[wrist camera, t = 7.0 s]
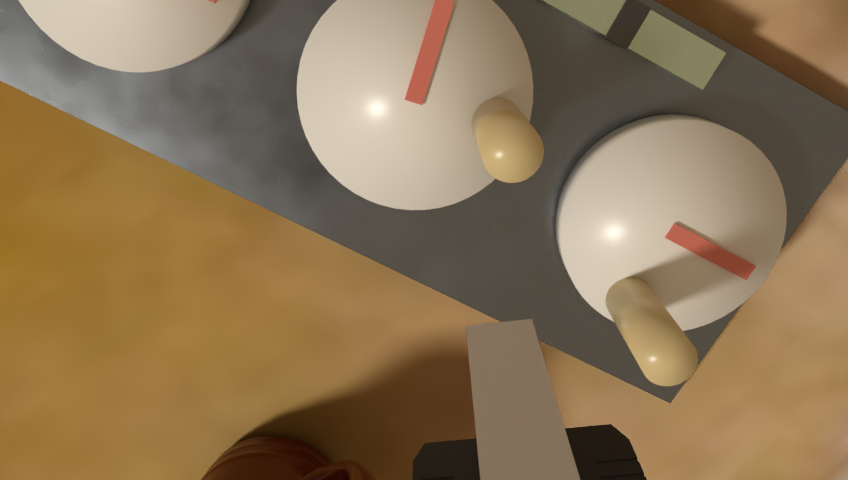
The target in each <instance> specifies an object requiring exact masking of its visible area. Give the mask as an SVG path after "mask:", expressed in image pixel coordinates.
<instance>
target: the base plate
mask: <svg viewBox="0 0 848 480" xmlns="http://www.w3.org/2000/svg"><path fill="white" fill-rule="evenodd" d="M336 1H337V0H250V3H249V5H248V7H247V9H246V11H245V13H244V15H243V17H242V19H241V20H240V22H239V23H238V25H237V26H236V28H235V29H234V30H233V32H232V33H231V34H230V35H229V36H228V37H227V38H226V39H225V40H224V41H223V42H222V43H221V44H220V45H218V46H217V47H216V48H215V49H213V50H212V51H210V52H209V53H207V54H205V55H204V56H202V57H200V58H198V59H196V60H193V61H191V62H188V63H186V64H182V65H179V66H175V67H172V68H168V69H164V70H160V71H153V72H144V73H143V72H124V71H117V70H112V69H108V68H105V67H101V66H98V65H95V64H93V63H90V62H88V61H86V60H83V59H81V58H79V57H78V56H76V55H74V54H72V53H71V52H69V51H67V50H66V49H64V48H63V47H62V46H60V45H59V44H57V43H56V42H55V41H53V40H52V39H51V38H50V37H49V36H48V35H47V34H46V33H45V32H44V31H42V30H41V29H40V28H39V26H38V25H37V24H36V23H35V22H34V21H33V20H32V18H31V17H30V16H29V15H28V13H27V12H26V11H25V9H24V8H23V6H22V5H21V3H20V2H19V0H0V81H2V82H5V83H7V84H9V85H11V86H13V87H15V88H17V89H19V90H21V91H23V92H25V93H27V94H29V95H32V96H34V97H36V98H38V99H40V100H42V101H44V102H46V103H48V104H50V105H52V106H54V107H56V108H59V109H61V110H63V111H65V112H67V113H69V114H71V115H73V116H75V117H77V118H79V119H81V120H83V121H85V122H88V123H90V124H92V125H94V126H96V127H98V128H100V129H102V130H104V131H106V132H108V133H110V134H112V135H115V136H117V137H119V138H121V139H123V140H125V141H127V142H129V143H131V144H133V145H135V146H137V147H139V148H142V149H144V150H146V151H148V152H150V153H152V154H154V155H156V156H158V157H160V158H162V159H164V160H166V161H169V162H171V163H173V164H175V165H177V166H179V167H181V168H183V169H185V170H187V171H189V172H191V173H193V174H195V175H198V176H200V177H202V178H204V179H206V180H208V181H210V182H212V183H214V184H216V185H218V186H220V187H222V188H225V189H227V190H229V191H231V192H233V193H235V194H237V195H239V196H241V197H243V198H245V199H247V200H249V201H252V202H254V203H256V204H258V205H260V206H262V207H264V208H266V209H268V210H270V211H272V212H274V213H276V214H279V215H281V216H283V217H285V218H287V219H289V220H291V221H293V222H295V223H297V224H299V225H301V226H303V227H306V228H308V229H310V230H312V231H314V232H316V233H318V234H320V235H322V236H324V237H326V238H328V239H330V240H332V241H335V242H337V243H339V244H341V245H343V246H345V247H347V248H349V249H351V250H353V251H355V252H357V253H359V254H362V255H364V256H366V257H368V258H370V259H372V260H374V261H376V262H378V263H380V264H382V265H384V266H386V267H389V268H391V269H393V270H395V271H397V272H399V273H401V274H403V275H405V276H407V277H409V278H411V279H413V280H416V281H418V282H420V283H422V284H424V285H426V286H428V287H430V288H432V289H434V290H436V291H438V292H440V293H442V294H445V295H447V296H449V297H451V298H453V299H455V300H457V301H459V302H461V303H463V304H465V305H467V306H469V307H472V308H474V309H476V310H478V311H480V312H482V313H484V314H486V315H488V316H490V317H492V318H494V319H496V320H499V321H501V322H507V321H517V320H527V319H532V321H533V325H534V328H535V331H536V335H537V338H538V340H540V341H542V342H544V343H546V344H548V345H550V346H553V347H555V348H557V349H559V350H561V351H563V352H565V353H567V354H569V355H571V356H573V357H575V358H577V359H579V360H582V361H584V362H586V363H588V364H590V365H592V366H594V367H596V368H598V369H600V370H602V371H604V372H606V373H609V374H611V375H613V376H615V377H617V378H619V379H621V380H623V381H625V382H627V383H629V384H631V385H633V386H636V387H638V388H640V389H642V390H644V391H646V392H648V393H650V394H652V395H654V396H656V397H658V398H660V399H663V400H665V401H667V402H669V403H671V401H672V400H673V399H674V397H675V396H676V394H677V393H678V392H679V390H680V389H681V388H682V386H683V385H684V383H685V382H686V381H687V380H686V381H684V382H682V383H680V384H677V385H674V386H660V385H656V384H654V383H652V382H651V381H649V380H648V379H647V378H646V377H645V375H644V373H643V372H642V370H641V368H640V366H639V365H638V363H637V361H636V359H635V357H634V356H633V354H632V352H631V350H630V349H629V347H628V345H627V343H626V342H625V340H624V338H623V336H622V334H621V333H620V331H619V329H618V327H617V326H616V324H615V322H613V321H611V320H610V319H608V318H606V317H604V316H603V315H601V314H600V313H599V312H598V311H596V310H595V309H594V308H592V307H591V306H590V305H589V303H588V302H587V301H586V300H585V299H584V298H583V297H582V296H581V294H580V293H579V292H578V290H577V289H576V287H575V285H574V283H573V282H572V280H571V278H570V276H569V274H568V272H567V270H566V268H565V266H564V264H563V261H562V259H561V256H560V253H559V250H558V245H557V240H556V226H555V224H556V212H557V207H558V203H559V198H560V196H561V193H562V190H563V187H564V185H565V183H566V181H567V179H568V177H569V175H570V173H571V172H572V170H573V169H574V167H575V166H576V164H577V163H578V161H579V160H580V159H581V158H582V157H583V156H584V155H585V153H586V152H587V151H588V150H589V149H590V148H591V147H592V146H594V145H595V144H596V143H597V142H598V141H599V140H601V139H602V138H603V137H605V136H606V135H608V134H609V133H611V132H612V131H614V130H616V129H618V128H620V127H622V126H624V125H626V124H628V123H631V122H634V121H636V120H639V119H643V118H647V117H651V116H658V115H667V114H677V115H689V116H695V117H699V118H703V119H706V120H709V121H712V122H714V123H717V124H719V125H721V126H723V127H725V128H727V129H730V130H732V131H734V132H736V133H738V134H740V135H742V136H743V137H745V138H746V139H748V140H749V141H751V142H752V143H753V144H754V145H755V146H756V147H757V148H759V149H760V150H761V151H762V152H763V154H764V155H765V156H766V157H767V158H768V160H769V161H770V162H771V164H772V166H773V167H774V169H775V171H776V172H777V174H778V177H779V179H780V182H781V184H782V187H783V191H784V195H785V199H786V210H787V220H786V231H785V236H784V241H783V244H782V247H781V249H782V248H783V246H784V245H785V243H786V242H787V241H788V239H789V238H790V236H791V235H792V234H793V232H794V231H795V230H796V228H797V227H798V225H799V224H800V223H801V221H802V220H803V218H804V217H805V216H806V214H807V213H808V212H809V210H810V209H811V207H812V206H813V205H814V203H815V202H816V200H817V199H818V198H819V196H820V195H821V193H822V192H823V191H824V189H825V188H826V187H827V185H828V184H829V182H830V181H831V180H832V178H833V177H834V175H835V174H836V173H837V171H838V170H839V169H840V167H841V166H842V164H843V163H844V162H845V160H846V159H847V157H848V111H846V110H844V109H843V108H841V107H839V106H837V105H836V104H834V103H832V102H830V101H829V100H827V99H825V98H823V97H822V96H820V95H818V94H816V93H815V92H813V91H811V90H809V89H808V88H806V87H804V86H802V85H801V84H799V83H797V82H796V81H794V80H792V79H790V78H789V77H787V76H785V75H783V74H782V73H780V72H778V71H776V70H775V69H773V68H771V67H769V66H768V65H766V64H764V63H762V62H761V61H759V60H757V59H756V58H754V57H752V56H750V55H749V54H747V53H745V52H743V51H742V50H740V49H738V48H736V47H735V46H733V45H731V44H729V43H728V42H726V41H724V40H722V39H721V38H719V37H717V36H716V35H714V34H712V33H710V32H709V31H707V30H705V29H703V28H702V27H700V26H698V25H696V24H695V23H693V22H691V21H689V20H688V19H686V18H684V17H682V16H681V15H679V14H677V13H676V12H674V11H672V10H670V9H669V8H667V7H665V6H663V5H662V4H660V3H658V2H656V1H655V0H493V1H494V2H495V3H496V4H497V5H498V6H499V7H500V8H501V9H502V11H503V12H504V13H505V14H506V15H507V16H508V18H509V19H510V21H511V22H512V23H513V25H514V26H515V28H516V30H517V32H518V33H519V35H520V37H521V39H522V41H523V43H524V46H525V49H526V51H527V54H528V57H529V61H530V66H531V70H532V78H533V105H532V111H531V117H530V121H529V122H530V124H531V125H532V126H533V128H534V129H535V130H536V131H537V133H538V134H539V136H540V137H541V139H542V142H543V146H544V156H543V160H542V163H541V165H540V167H539V169H538V170H537V171H536V172H535V173H534V174H533V175H532V176H531V177H530V178H528V179H526V180H524V181H521V182H517V183H506V182H502V181H500V180H498V179H494V180H493V181H492V182H491V183H490V184H489V185H487V186H486V187H485V188H483V189H482V190H481V191H479V192H477V193H476V194H474V195H472V196H470V197H469V198H467V199H464V200H462V201H460V202H457V203H455V204H452V205H448V206H444V207H441V208H435V209H428V210H403V209H395V208H391V207H387V206H382V205H379V204H377V203H374V202H371V201H369V200H366V199H365V198H363V197H361V196H359V195H357V194H355V193H353V192H352V191H351V190H349V189H348V188H346V187H345V186H343V185H342V184H341V183H340V182H339V181H338V180H336V179H335V178H334V177H333V176H332V175H331V174H330V173H329V172H328V171H327V169H326V168H325V167H324V166H323V165H322V164H321V162H320V161H319V159H318V158H317V156H316V155H315V153H314V152H313V150H312V148H311V146H310V144H309V142H308V140H307V138H306V136H305V133H304V130H303V127H302V124H301V120H300V115H299V111H298V104H297V75H298V70H299V64H300V59H301V56H302V53H303V50H304V47H305V44H306V42H307V40H308V38H309V36H310V34H311V32H312V30H313V29H314V27H315V26H316V24H317V22H318V21H319V19H320V18H321V17H322V15H323V14H324V13H325V12H326V11H327V10H328V9H329V7H330V6H331V5H332V4H333V3H335V2H336ZM740 306H741V305H740ZM740 306H739V307H740ZM739 307H737V308H736V309H735V310H733V311H732V312H730V313H728V314H727V315H725V316H724V317H722V318H720V319H718V320H716V321H713V322H711V323H709V324H706V325H704V326H701V327H698V328H695V329H690V330H685V331H683V332H684V333H685V335H686V336H687V337H688V339H689V340H690V341H691V343H692V344H693V345H694V347H695V348H696V350H697V353H698V364H699V363H700V361H701V360H702V358H703V357H704V356H705V354H706V353H707V352H708V350H709V349H710V347H711V346H712V345H713V343H714V342H715V340H716V339H717V338H718V336H719V335H720V334H721V332H722V331H723V329H724V328H725V327H726V325H727V324H728V322H729V321H730V320H731V318H732V317H733V315H734V314H735V313H736V311H737V310H738V309H739ZM698 364H697V365H698Z"/></svg>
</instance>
